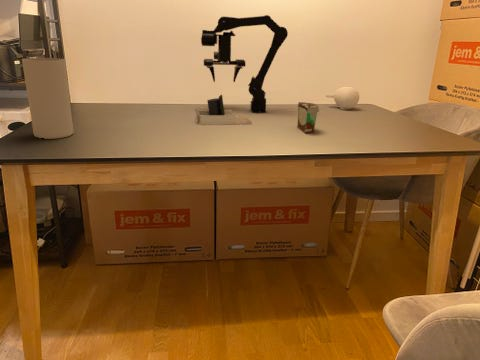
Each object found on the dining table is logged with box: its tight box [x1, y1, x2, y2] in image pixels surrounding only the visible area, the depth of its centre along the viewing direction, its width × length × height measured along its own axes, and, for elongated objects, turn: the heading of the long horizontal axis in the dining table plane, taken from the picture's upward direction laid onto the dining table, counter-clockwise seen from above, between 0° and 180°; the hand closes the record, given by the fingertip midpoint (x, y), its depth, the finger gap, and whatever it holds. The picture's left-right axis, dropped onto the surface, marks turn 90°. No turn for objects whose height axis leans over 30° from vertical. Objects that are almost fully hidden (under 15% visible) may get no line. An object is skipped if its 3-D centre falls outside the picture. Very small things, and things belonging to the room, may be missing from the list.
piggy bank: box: [325, 86, 360, 111], centre depth 200 cm, size 12×12×15 cm
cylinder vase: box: [21, 57, 74, 140], centre depth 132 cm, size 12×12×25 cm
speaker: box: [206, 94, 225, 115], centre depth 164 cm, size 8×6×10 cm
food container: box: [296, 101, 320, 134], centre depth 152 cm, size 12×6×10 cm, turn 9°
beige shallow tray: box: [195, 109, 253, 126], centre depth 165 cm, size 22×13×4 cm, turn 99°
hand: (224, 82), depth 185 cm, fingers open, 9 cm apart
